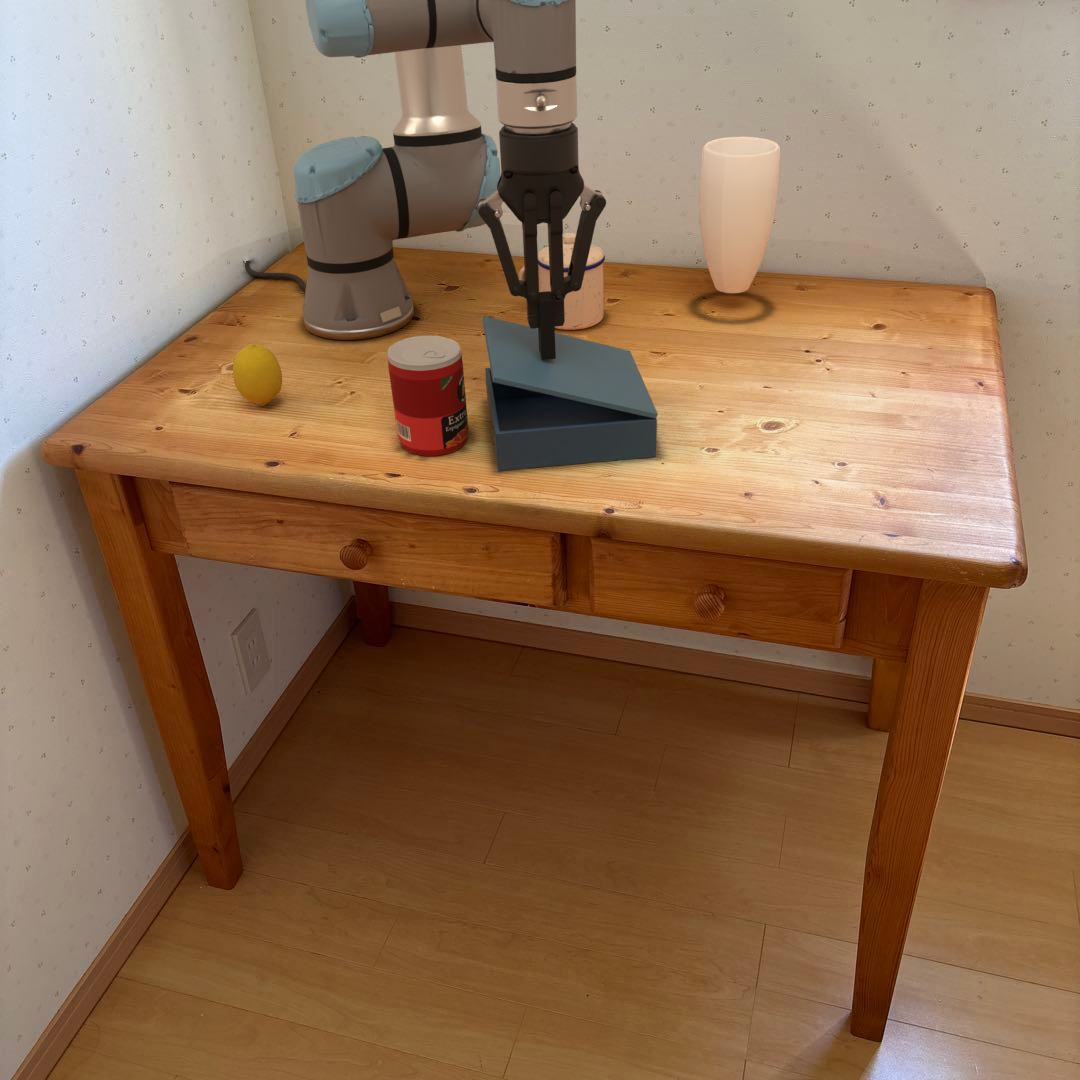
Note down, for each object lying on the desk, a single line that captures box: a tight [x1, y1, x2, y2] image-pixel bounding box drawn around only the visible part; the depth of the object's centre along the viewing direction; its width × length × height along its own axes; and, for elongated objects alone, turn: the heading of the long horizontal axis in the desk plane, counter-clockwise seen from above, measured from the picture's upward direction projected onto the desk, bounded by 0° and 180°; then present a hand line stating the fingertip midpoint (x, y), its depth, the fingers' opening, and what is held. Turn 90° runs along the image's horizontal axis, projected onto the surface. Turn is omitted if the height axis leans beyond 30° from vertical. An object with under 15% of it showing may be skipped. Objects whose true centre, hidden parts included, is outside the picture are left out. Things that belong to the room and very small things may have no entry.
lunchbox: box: [484, 367, 658, 472], centre depth 117 cm, size 17×16×4 cm
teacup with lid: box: [518, 232, 606, 331], centre depth 141 cm, size 12×9×12 cm
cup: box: [698, 136, 781, 294], centre depth 139 cm, size 10×10×22 cm
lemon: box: [232, 342, 283, 407], centre depth 124 cm, size 6×6×8 cm
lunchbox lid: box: [481, 315, 659, 419], centre depth 114 cm, size 18×16×1 cm
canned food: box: [386, 334, 469, 457], centre depth 114 cm, size 8×8×11 cm
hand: (547, 354), depth 113 cm, fingers closed
